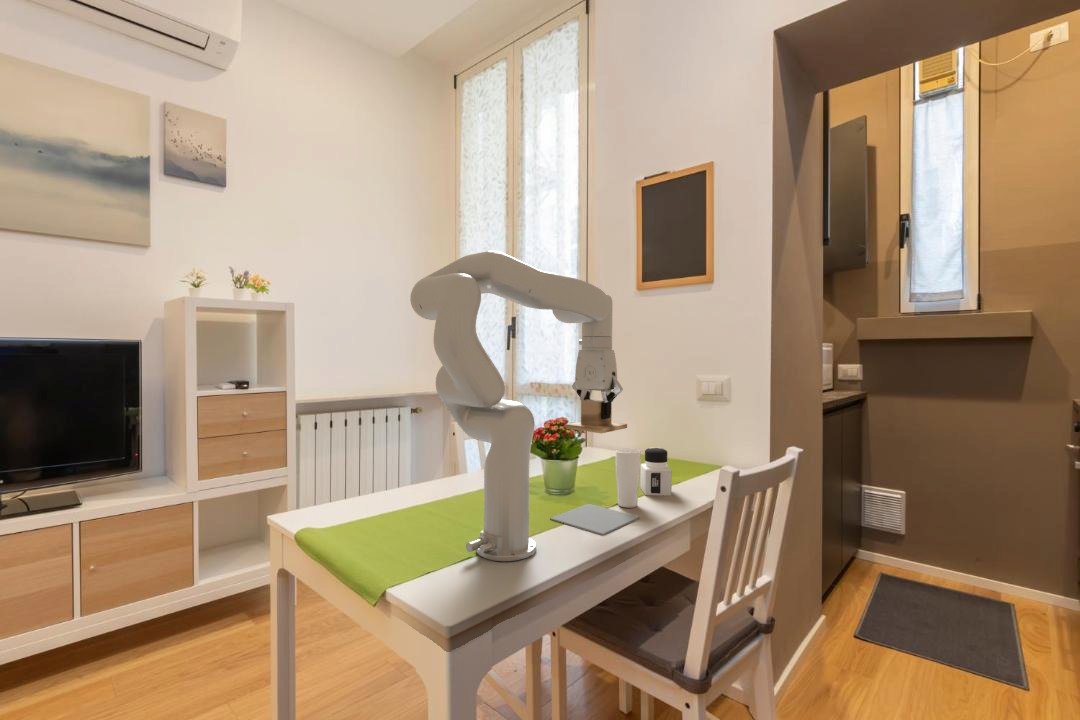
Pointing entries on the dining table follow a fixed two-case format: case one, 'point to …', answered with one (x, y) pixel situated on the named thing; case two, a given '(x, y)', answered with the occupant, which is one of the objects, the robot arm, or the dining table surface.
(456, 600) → the dining table surface
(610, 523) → the mat
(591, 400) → the lid
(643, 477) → the container
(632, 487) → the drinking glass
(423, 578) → the dining table surface
